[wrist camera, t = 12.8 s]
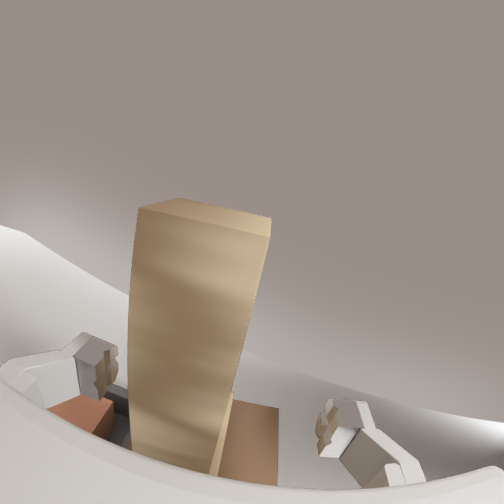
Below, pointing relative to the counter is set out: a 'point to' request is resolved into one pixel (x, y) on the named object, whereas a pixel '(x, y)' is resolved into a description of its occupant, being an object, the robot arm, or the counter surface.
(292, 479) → the counter surface
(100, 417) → the salmon orange block
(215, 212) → the wooden inverted t block
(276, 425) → the wide wooden plinth
